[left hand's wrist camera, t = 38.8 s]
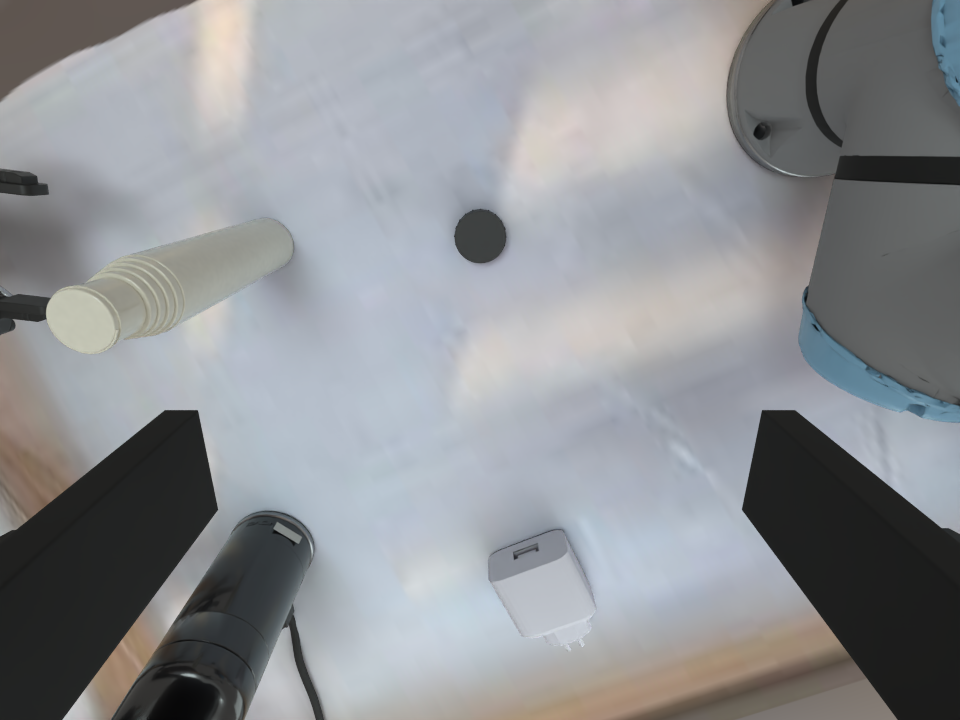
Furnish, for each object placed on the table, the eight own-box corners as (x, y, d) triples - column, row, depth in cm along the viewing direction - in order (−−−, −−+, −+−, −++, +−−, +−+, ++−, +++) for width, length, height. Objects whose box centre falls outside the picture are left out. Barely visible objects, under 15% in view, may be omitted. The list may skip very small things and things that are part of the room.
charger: (538, 642, 67) (487, 554, 63) (607, 618, 66) (562, 526, 61) (542, 677, 63) (488, 584, 58) (617, 652, 62) (568, 555, 57)
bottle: (236, 257, 51) (23, 345, 27) (249, 209, 49) (36, 258, 26) (285, 277, 51) (119, 380, 28) (300, 230, 50) (137, 297, 26)
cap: (490, 268, 51) (490, 272, 49) (446, 245, 50) (445, 248, 49) (514, 224, 50) (515, 226, 48) (469, 199, 49) (469, 201, 47)
